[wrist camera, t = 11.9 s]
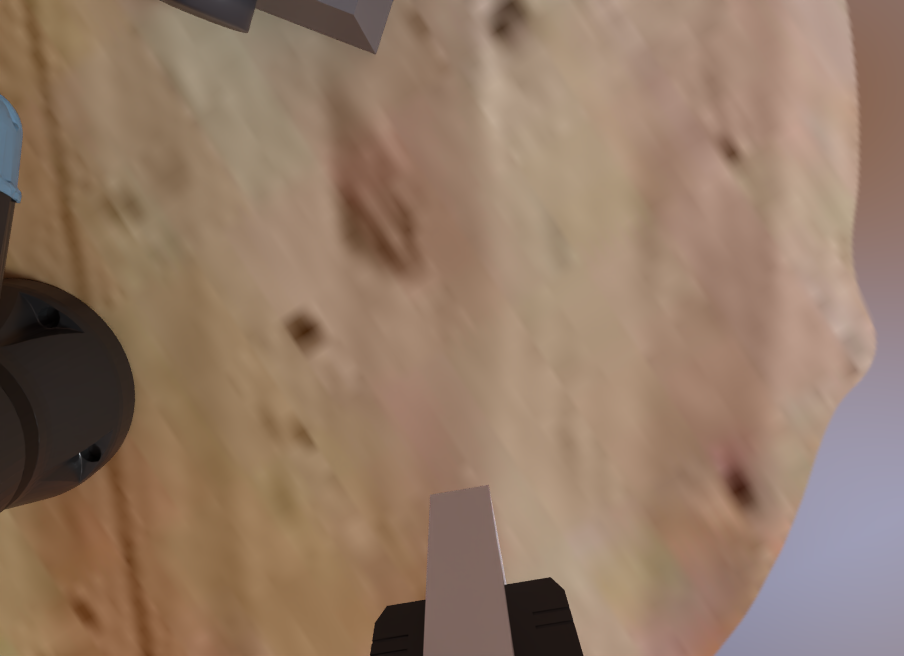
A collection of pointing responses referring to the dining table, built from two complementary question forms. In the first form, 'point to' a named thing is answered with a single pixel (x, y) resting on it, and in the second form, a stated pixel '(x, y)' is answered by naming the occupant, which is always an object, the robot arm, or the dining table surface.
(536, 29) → the dining table surface
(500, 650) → the robot arm
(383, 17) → the camera housing
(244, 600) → the dining table surface
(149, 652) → the dining table surface
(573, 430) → the dining table surface
